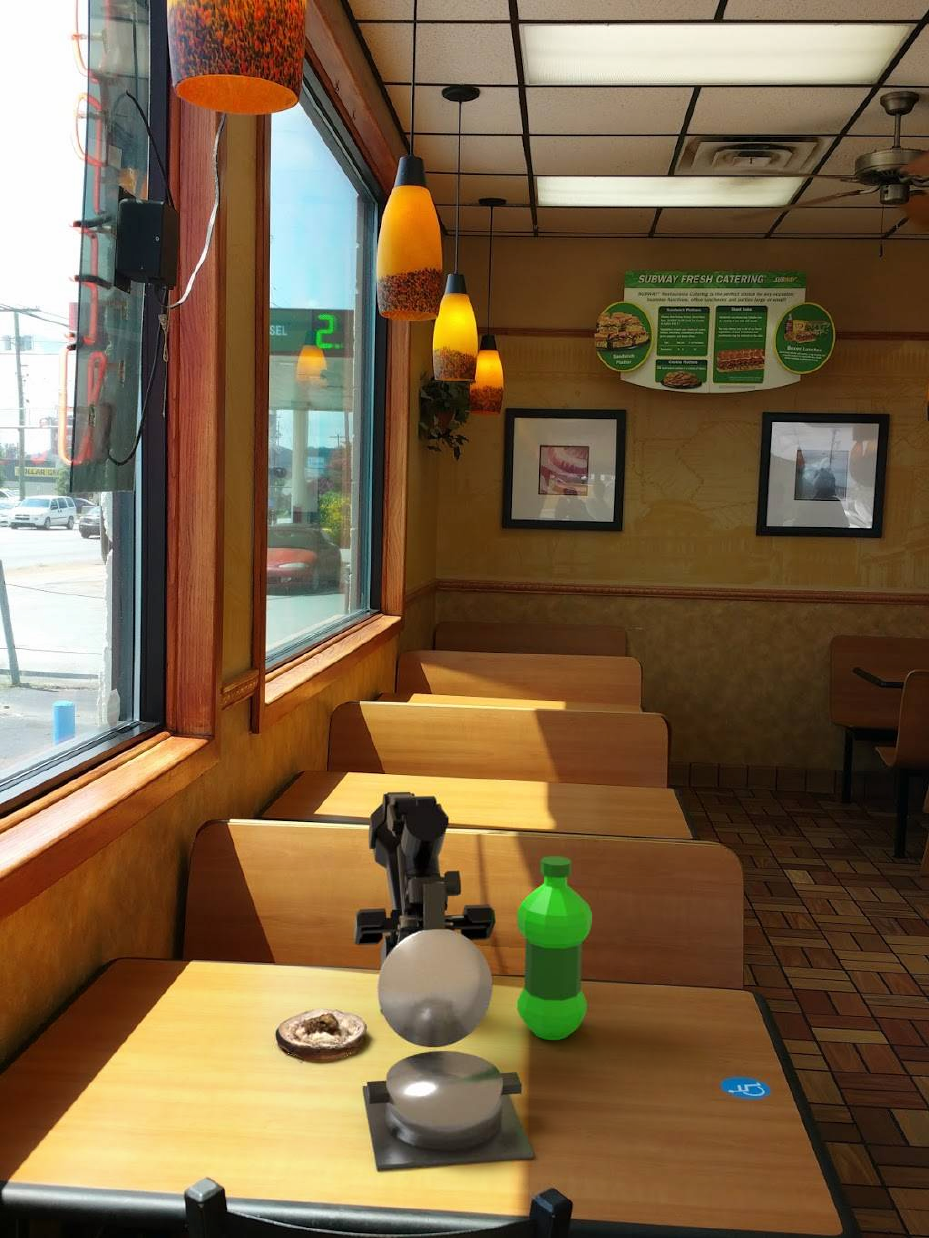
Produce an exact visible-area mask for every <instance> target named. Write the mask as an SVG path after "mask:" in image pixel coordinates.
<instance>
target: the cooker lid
mask: <svg viewBox="0 0 929 1238" xmlns="http://www.w3.org/2000/svg"><path fill="white" fill-rule="evenodd" d="M445 915H446V910H445V883H444V882H424V883H423V930H421V931H418V932H415V933H413V934H411V935H409V936H407V937H406V938H404V939H403V940H401V941H400V942H399V943H398V944H397V945H396V946H395V947H394V948H393V949H392V950H391V952H390V953H389V954H388V956H387V957H386V959H385V961H384V963H383V965H382V967H381V968H380V970H379V971H380V972H379V974H378V980H377V1000H378V1004H379V1008H380V1009H381V1010H382V1012H381V1013H382V1016H383V1017H384V1019H385V1021H386V1023H387V1024H388V1026H389V1027H390V1028H391V1029H392V1031H393V1032H394V1033H395V1034H397V1036H399V1037H400V1038H401V1039H403V1040H404V1041H407V1042H408V1043H411V1044H413V1045H414V1046H415V1045H416V1046H419V1047H424V1048H441V1047H443V1048H444V1047H446V1046H450V1045H453V1044H456V1043H457V1042H460V1041H461V1040H464V1039H465V1038H467V1036H469V1035H471V1034H472V1033H473V1032H474V1031H475V1030H476V1028H478V1026H479V1025H480V1024H481V1022H482V1021H483V1019H484V1017H485V1016H486V1013H487V1011H488V1010H489V1008H490V1007H489V1006H490V1003H491V999H492V995H493V978H492V972H491V968H490V966H489V963H488V960H487V959H486V957H485V955H484V954H483V952H482V950H480V948H479V947H478V946H477V945H476V943H474V942H473V940H469V939H468V938H467V937H465V936H464V935H462V934H461V932H457V931H456V930H454V931H452V930H449V929H445Z"/></svg>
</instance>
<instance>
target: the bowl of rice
mask: <svg viewBox="0 0 929 1238" xmlns="http://www.w3.org/2000/svg"><path fill="white" fill-rule="evenodd" d="M367 1030H368V1026H367V1023H365V1021H364V1020H363V1018H361V1017H360V1016H359V1015H356V1014H353V1013H350V1012H347V1011H343V1010H341V1009H331V1008H317V1009H310V1010H306V1011H304V1012H302V1013H299V1014H297V1015H294V1016H292V1017H290V1018H288V1019H286V1020H284V1021H283V1022H281V1023H280V1024H279V1025H278V1027H277V1029H276V1030H275V1032H274V1033H275V1036H274V1037H275V1040H276V1042H277V1046H279V1047H280V1048H281V1047H282V1048H281V1049H282V1050H281V1051H282V1052H283V1053H285V1054H286V1053H289V1054H292V1055H291V1056H293V1055H294V1056H293V1057H296V1056H297V1058H299V1057H300V1058H299V1063H300V1064H302V1063H303V1061H304V1060H305V1061H304V1062H315V1061H317V1062H316V1063H318V1062H319V1063H320V1062H321V1063H323V1062H322V1061H324V1062H329V1060H331V1061H335V1060H338V1059H337V1058H339V1059H342V1058H341V1057H343V1058H345V1057H344V1056H346V1057H348V1056H347V1055H349V1054H350V1053H352V1054H353V1055H356V1051H358V1050H359V1049H362V1045H363V1043H365V1041H366V1039H365V1036H366V1032H367ZM364 1035H365V1036H364ZM289 1054H288V1055H289ZM288 1055H287V1054H286V1056H285V1057H287V1056H288ZM350 1055H351V1054H350ZM350 1055H349V1056H350ZM301 1058H303V1059H301ZM334 1059H335V1060H334Z"/></svg>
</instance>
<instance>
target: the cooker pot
mask: <svg viewBox="0 0 929 1238" xmlns="http://www.w3.org/2000/svg"><path fill="white" fill-rule="evenodd" d="M522 1085H523V1084H522V1081H521V1079H520V1077H519V1075H518V1073H517V1071H516V1072H515V1071H513V1072H501V1071H500V1069H499V1068H498V1067H497V1066H496V1065H494V1064H493V1063H491V1062H490V1061H488V1060H486V1059H485V1058H482V1057H480V1056H477V1055H474V1054H470V1053H466V1052H460V1051H452V1050H451V1051H450V1050H433V1051H426V1052H421V1053H416V1054H413V1055H412V1054H411V1055H410V1056H407V1057H404V1058H402V1059H401V1060H398V1061H397V1062H395V1063H394V1064H393V1065H392V1066H391V1067H390V1068H389V1069H388V1072H387V1073H386V1078H385V1080H375V1081H373V1080H371V1081H366V1085H362V1094H363V1101H364V1105H365V1112H366V1118H367V1123H368V1129H369V1135H370V1140H371V1145H372V1153H373V1157H374V1162H375V1163H374V1164H375V1168H376V1169H375V1170H376V1171H388V1170H401V1169H414V1168H424V1167H423V1166H427V1167H436V1166H437V1167H439V1166H440V1167H441V1166H450V1165H464V1164H477V1163H488V1162H489V1163H490V1162H503V1161H514V1160H515V1161H516V1160H529V1159H530V1160H531V1159H534V1151H533V1148H532V1146H531V1144H530V1142H529V1139H528V1136H527V1135H526V1132H525V1129H524V1127H523V1125H522V1123H521V1120H520V1118H519V1116H518V1113H517V1110H516V1108H515V1107H514V1103H513V1102H512V1099H511V1096H510V1095H521V1094H522V1091H523V1090H522V1089H523V1088H522ZM427 1167H426V1168H427Z"/></svg>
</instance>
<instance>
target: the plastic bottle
mask: <svg viewBox="0 0 929 1238" xmlns="http://www.w3.org/2000/svg"><path fill="white" fill-rule="evenodd" d="M572 863H573V862H572V860H570V859H569V858H568V857H563V856H551V855H550V856H545V857H542V858H541V860H540V874H541V875H542V876H543V877H544V878H543V883H542V884H541V885H540V886H539V887H537V888H535V890H533V891H532V892H531V893H529V894H528V895H527V896H526V897H525V898H524V900H522V902H520V904H519V907H518V910H517V912H516V923H517V927H518V931H519V932H520V933H521V934H522V935H523V936H524V938H525V952H524V953H525V956H524V957H525V958H524V959H525V960H524V987H523V988H522V990H521V991H520V994H519V996H518V998H517V1002H516V1003H517V1005H516V1006H517V1008H516V1009H517V1012H518V1014H519V1017H520V1019H521V1020H522V1021H523V1023H524V1024H525V1026H527V1028H528V1029H529V1030H530V1031H531V1032H532V1033H534V1035H535V1036H536V1037H538V1038H540V1039H542V1040H546V1041H547V1040H548V1041H559V1040H562V1039H565V1038H568V1036H569V1035H571V1034H572V1033H574V1032H575V1031H576V1030H577V1029H578V1028H579V1027H580V1025H581V1023H582V1022H583V1020H584V1018H585V1016H586V1014H587V1011H588V1010H587V1008H588V1005H587V1004H588V1003H587V1000H586V998H585V994H584V993H583V990H582V989H581V987H582V986H581V985H582V956H583V955H582V954H583V953H582V951H583V947H582V946H583V942H584V941H585V940H586V938H587V937H588V935H590V934H589V933H590V932H591V928H592V923H593V913H592V910H591V907H590V905H589V904H588V903H587V902H586V901H585V900H584V899H583V898H582V897H581V896H580V894H578V893H577V891H575V890H574V889H572V887H570V886H569V885H568V877H570V876H571V875H572Z"/></svg>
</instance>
